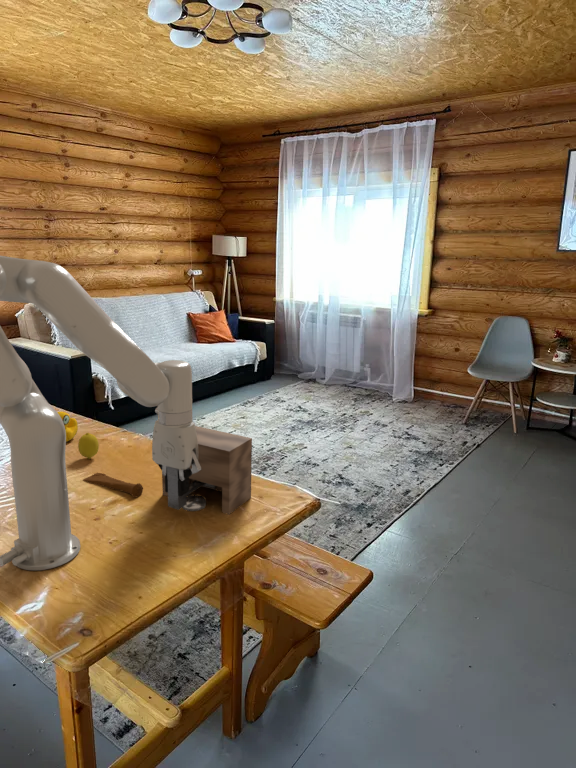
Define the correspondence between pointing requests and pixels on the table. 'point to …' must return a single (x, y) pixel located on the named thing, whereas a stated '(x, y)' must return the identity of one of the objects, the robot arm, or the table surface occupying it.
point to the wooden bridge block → (224, 466)
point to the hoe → (173, 497)
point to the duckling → (69, 425)
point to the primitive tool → (115, 484)
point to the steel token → (195, 503)
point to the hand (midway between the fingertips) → (177, 491)
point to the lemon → (88, 445)
